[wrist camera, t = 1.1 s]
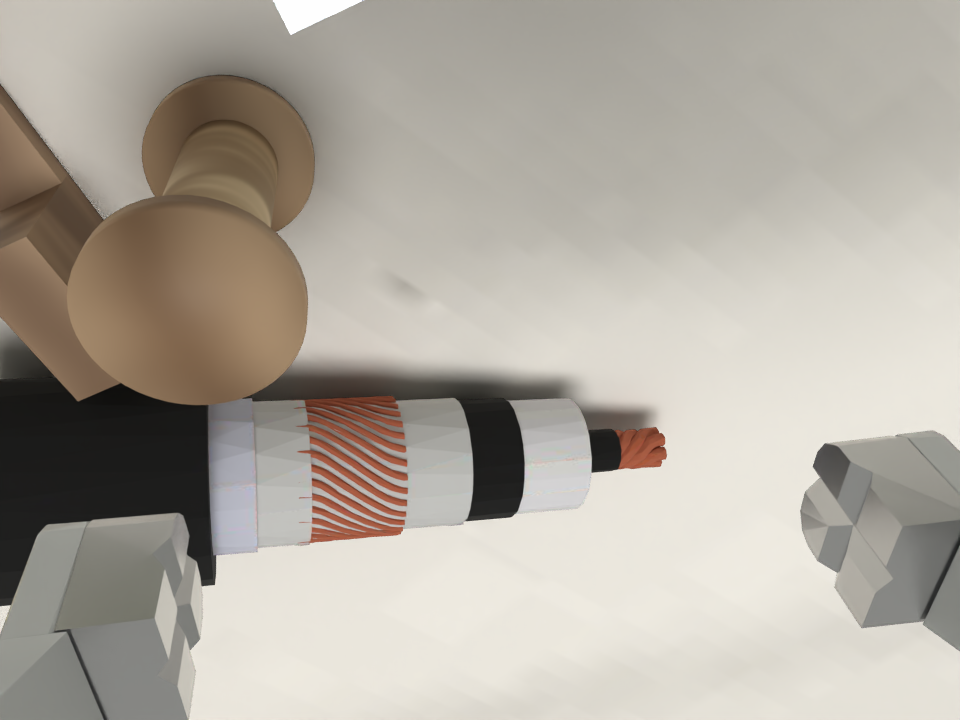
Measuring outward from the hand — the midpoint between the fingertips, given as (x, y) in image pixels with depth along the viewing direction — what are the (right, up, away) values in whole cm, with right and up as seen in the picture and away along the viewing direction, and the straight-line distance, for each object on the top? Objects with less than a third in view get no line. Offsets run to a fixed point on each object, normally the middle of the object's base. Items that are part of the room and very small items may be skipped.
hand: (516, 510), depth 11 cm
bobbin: (-11, +11, +26) cm, 30 cm away
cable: (-8, -1, +35) cm, 36 cm away
